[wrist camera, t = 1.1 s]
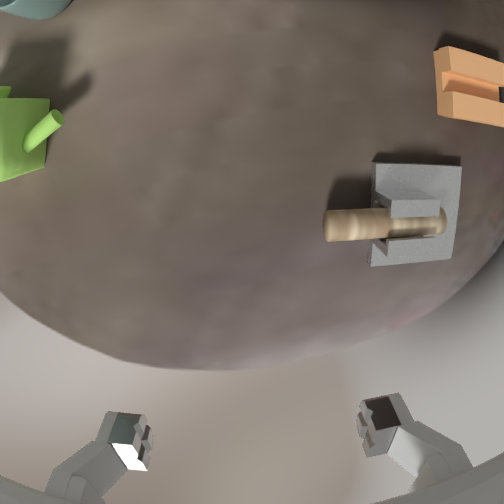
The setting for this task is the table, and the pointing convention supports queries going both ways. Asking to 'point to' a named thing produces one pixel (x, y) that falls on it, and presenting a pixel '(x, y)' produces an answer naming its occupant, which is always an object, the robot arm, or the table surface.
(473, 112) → the orange grooved block
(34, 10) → the cup
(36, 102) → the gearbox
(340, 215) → the axle
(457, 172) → the block
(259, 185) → the table surface
